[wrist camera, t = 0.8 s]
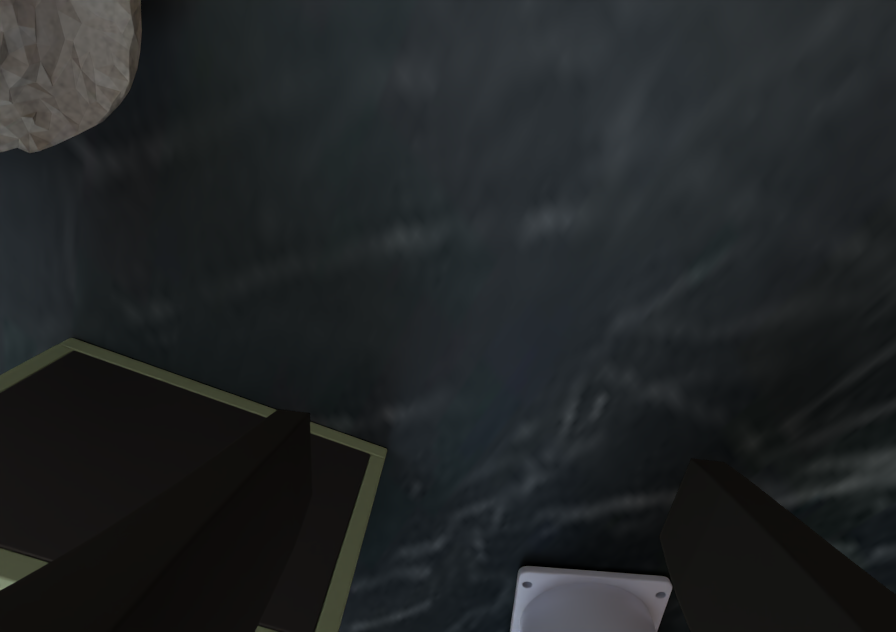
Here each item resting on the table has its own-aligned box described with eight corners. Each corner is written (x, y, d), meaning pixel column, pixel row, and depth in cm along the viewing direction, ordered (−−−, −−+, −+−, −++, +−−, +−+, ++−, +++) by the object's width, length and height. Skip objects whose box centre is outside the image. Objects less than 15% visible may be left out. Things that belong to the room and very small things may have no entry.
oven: (323, 596, 26) (246, 833, 17) (63, 515, 25) (-162, 730, 16) (388, 448, 21) (327, 674, 13) (71, 336, 20) (-245, 505, 11)
